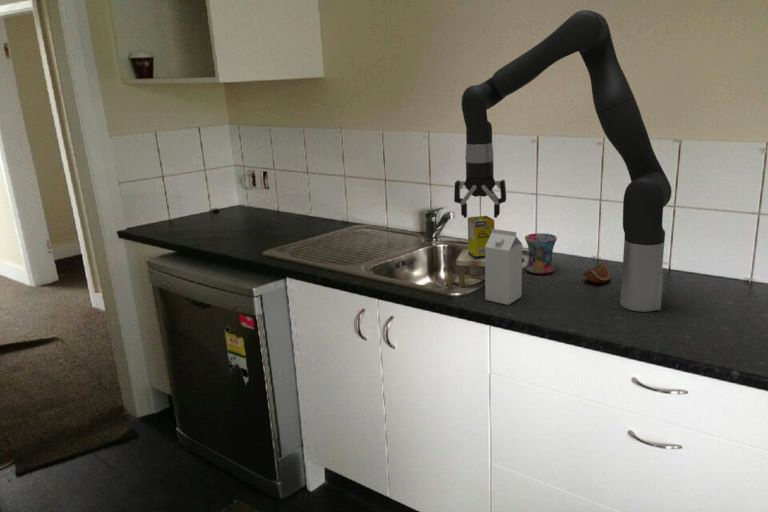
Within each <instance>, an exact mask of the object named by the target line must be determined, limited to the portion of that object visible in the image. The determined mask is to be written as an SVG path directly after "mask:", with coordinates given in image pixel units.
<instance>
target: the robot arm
mask: <svg viewBox="0 0 768 512" xmlns="http://www.w3.org/2000/svg"><path fill="white" fill-rule="evenodd" d="M577 52H578V53H579V54H580V56H581V59H582V61H583V63H584V64H585V67H586V69H587V72H588V75H589V79H590V85H591V86H590V87H591V93H592V95H591V96H592V100H593V107H594V110H595V112H596V115H597V118H598V121H599V123H600V126H601V128H602V130H603V132H604V135H605V137H606V138H607V139H608V141H609V142H610V143H611V145H612V147H613V148H614V149H615V150H616V151H617V153H618V154H619V155H620V156H621V158H622V160H623V161H624V163H625V166H626V169H627V172H628V175H629V178H630V181H631V182H630V183H628V185H627V186H626V188H625V190H624V193H623V194H624V195H623V202H622V203H623V204H622V229H623V233H624V237H623V238H624V239H623V255H622V256H623V257H622V274H621V289H620V306H621V307H622V308H624V309H626V310H630V311H635V312H642V313H643V312H653V311H654V312H655V311H661V309H662V295H663V285H664V283H663V282H664V273H663V264H664V255H665V253H664V251H665V241H666V240H665V239H666V231H665V229H664V228H663V218H664V214H663V213H664V208H665V207H666V206H667V205H668V204H669V202H670V200H671V197H672V192H673V191H672V186H671V183H670V182H669V181H670V180H669V179H668V177H667V175H666V174H665V172H664V170H663V168H662V167H663V166H661V164H660V162H659V160H658V158H657V156H656V153H655V152H654V149H653V146H652V143H651V140H650V136H649V133H648V131H647V128H646V125H645V123H644V120H643V117H642V113H641V111H640V108H639V106H638V103H637V100H636V98H635V94H634V93H633V90H632V89H631V87H630V84H629V82H628V79H627V77H626V75H625V73H624V71H623V69H622V68H621V65H620V63H619V60H618V57H617V54H616V50H615V46H614V43H613V38H612V34H611V30H610V26H609V24H608V21H607V20H606V18H605V17H604V15H602V14H601V13H599V12H596V11H594V10H589V9H582V10H578V11H576V12H574V13H572V15H570V17H568V18H567V19H566V20H565V21H564V22H563V23H562V24H561V25H559V26H558V27H557V28H556V29H555V30H554V31H553V32H552V33H551V34H549V35H548V36H546V37H545V38H544V39H543V40H542V41H540V42H539V43H538V44H536V45H535V46H534V47H532V48H530V49H528V50H527V51H526V52H524V53H523V54H521V55H519V56H518V57H516V58H515V59H513V60H512V61H510V62H508V63H507V64H506V65H504V66H502V67H500V68H499V69H498V70H496V71H495V72H494V73H493V75H492V76H491V77H490V78H488V79H487V80H485V81H483V82H482V83H480V84H475V85H473V84H472V85H470V86H468V87H467V88H465V90H464V91H463V93H462V96H461V111H462V117H463V121H464V125H465V130H466V131H465V132H466V135H465V138H466V140H465V141H466V142H465V143H466V144H465V157H464V158H465V181H464V180H463V181H462V180H458V179H457V180H456V181H455V182H454V196H453V198H454V199H453V201H454V203H456V204H459V205H460V209H461V210H460V211H461V212H460V214H461V216H463V218H468V203H467V201H468V200H469V198H470V197H471V196H473V198H474V197H482V198H483V197H487V196H488V198H489V199H490V200H491V201H492V202H493V203H494V204H493V218H494V219H496V218H498V217H499V215H500V213H501V208H500V206H501V205H500V204H503V203H506V201H507V189H506V180H505V179H501V180H495V178H494V176H495V175H494V148H493V126H492V123H491V122H490V121H489V120H488V112H487V110H489V109H491V108H493V107H494V106H496V105H497V104H499V103H500V102H501V101H502V100H504V99H505V98H506V97H508V96H509V95H511V94H513V93H515V92H517V91H518V90H520V89H522V88H523V87H524V86H526V85H528V84H530V83H531V82H532V81H534V80H535V79H536V78H537V77H539V76H540V75H541V74H542V73H543V72H544V71H545V70H547V69H548V68H549V67H550V66H553V65H554V64H555V63H557V62H559V61H560V60H562V59H563V58H566V57H568V56H570V55H573V54H575V53H577ZM463 186H464V187H465V188H466V189H467V192H466V194H465V195H464V197H463V198H462V197H461V189H463V188H464V187H463ZM495 186H497V188H498V189H500V198H499V197H498V195H497V194H496V193H495V192H494V190H493V189H494V187H495Z"/></svg>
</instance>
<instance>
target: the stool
mask: <svg viewBox="0 0 768 512" xmlns="http://www.w3.org/2000/svg"><path fill="white" fill-rule="evenodd" d="M456 266H458V288H465V279H467V280H470V279H471V280H485V274H470V269H480V270H481V269H483V270H485V258H479V259H475V258H474V257H472V256H471V255H470V254H468V248H462V250H461V251H460V253H459V255H458V257H457V259H456Z"/></svg>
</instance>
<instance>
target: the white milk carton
mask: <svg viewBox="0 0 768 512" xmlns="http://www.w3.org/2000/svg"><path fill="white" fill-rule="evenodd" d="M484 270H485V271H484V273H485V274H484V275H485V279H484V282H485V283H484V288H485V289H484V296H485V298H484V299H485V301H489V302H493V303H498V304H504V305H507V306H509V305H511V304H512V303H513V302H515V301H517V300H518V299H520V298H522V293H523V292H522V289H523V288H522V284H523V283H522V281H523V278H522V277H523V274H522V273H523V243H522V241H521V240H520V239H519V238H518V237H517V231H511V230H504V229H503V230H502V229H497V228H494V229H492V233H491V235H490V237H489V239H488V242H487V244H486V246H485V269H484Z"/></svg>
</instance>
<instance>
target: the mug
mask: <svg viewBox="0 0 768 512" xmlns="http://www.w3.org/2000/svg"><path fill="white" fill-rule="evenodd" d="M524 240H525V241H526V244H527V248H528V261H527V264H526V266H525V270H526V271H527V272H529V273H532V274H536V275H537V274H538V275H544V274H550V273H552V272H554V271H555V269H556V268H555V266H554V262H553V252H554V246H555V245H556V242H557V240H558V237H557V236H556V235H555V234H552V233H545V232H544V233H543V232H541V233H540V232H539V233H530V234H527V235H525V237H524Z"/></svg>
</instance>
